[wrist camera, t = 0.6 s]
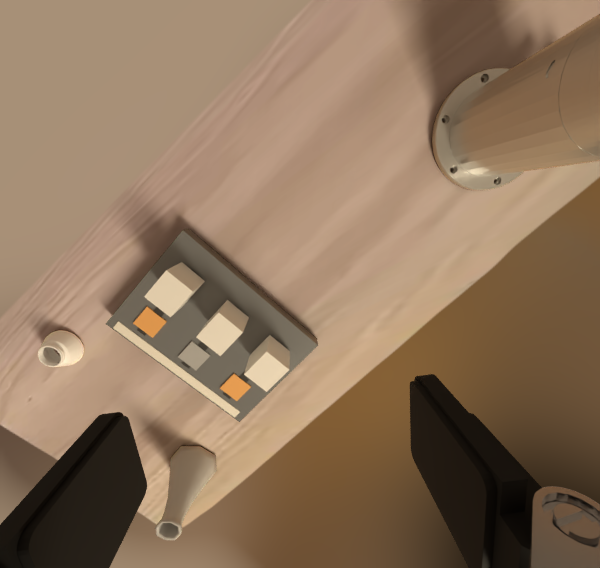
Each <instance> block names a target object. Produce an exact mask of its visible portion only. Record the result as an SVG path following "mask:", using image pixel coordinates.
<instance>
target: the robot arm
mask: <svg viewBox="0 0 600 568" xmlns="http://www.w3.org/2000/svg"><path fill="white" fill-rule="evenodd" d="M481 81H482V82H481ZM442 119H443V120H444V123H443V122H442ZM432 145H433V153H434V156H435V160H436V162H437V164H438V166H439V168H440V170H441V171H442V173H443V174H444V175H445V176H446V178H448V179H449V180H450V181H451V182H452V183H454V184H456V185H458V186H460V187H462V188H465V189H469V190H491V189H495V188H499V187H502V186H504V185H506V184H508V183H510V182H512V181H513V180H515V179H516V178H518V177H519V176H520V175H521V174H522V173H523V172H524V171H530V170H537V169H545V168H552V167H559V166H566V165H574V164H581V163H588V162H596V161H600V14H599V15H597V16H596V17H594V18H592V19H591V20H589V21H587V22H586V23H584V24H583V25H581V26H579V27H578V28H576V29H575V30H573V31H571V32H570V33H568V34H566V35H565V36H563V37H562V38H560V39H558V40H557V41H555V42H554V43H552V44H550V45H549V46H547V47H545V48H544V49H542V50H541V51H539V52H537V53H536V54H534V55H532V56H531V57H529V58H528V59H526V60H524V61H523V62H521V63H520V64H518V65H516V66H515V67H513V68H511V69H509V68H493V69H487V70H484V71H481V72H479V73H476V74H474V75H472V76H471V77H469V78H468V79H466V80H465V81H463V82H462V83H461V84H459V85H458V86H457V87H456V88H455V89H454V90H453V91H452V92H451V93H450V94H449V95H448V96H447V98H446V99H445V101H444V102H443V104H442V105H441V107H440V110H439V112H438V114H437V116H436V120H435V123H434V127H433V135H432ZM450 168H451V169H452V171H451V172H450ZM410 417H411V418H410V420H411V421H410V423H411V451H412V456H413V459H414V461H415V463H416V465H417V467H418V469H419V471H420V473H421V475H422V477H423V479H424V481H425V483H426V485H427V487H428V489H429V491H430V493H431V495H432V497H433V499H434V501H435V502H436V504H437V506H438V508H439V510H440V512H441V514H442V516H443V518H444V520H445V522H446V524H447V526H448V528H449V530H450V532H451V534H452V536H453V538H454V540H455V541H456V544H457V546H458V548H459V550H460V551H461V553H462V555H463V557H464V559H465V561H466V563H467V565H468V567H469V568H600V505H599V504H598V503H596V502H595V501H593V500H592V499H590V498H588V497H586V496H584V495H582V494H580V493H578V492H575V491H573V490H569V489H565V488H561V487H545V488H542V487H541V486H540V485H539V484H538V483H537V482H536V481H535V480H534V479H533V478H532V477H531V476H530V474H529V473H528V472H527V471H526V470H525V469H524V468H523V467H522V466H521V465H520V464H519V462H518V461H517V460H516V459H515V458H514V457H513V456H512V455H511V454H510V453H509V452H508V451H507V449H505V447H504V446H503V445H502V444H501V443H500V442H499V441H498V440H497V439H496V437H495V436H494V435H493V434H492V433H491V432H490V431H489V430H488V429H487V428H486V427H485V425H484V424H483V423H482V422H481V421H480V420H479V419H478V418H477V417H476V416H475V415H474V414H471V413H468V411H467V410H466V409H465V408H464V407H463V406H462V405H461V404H460V403H459V401H458V400H457V399H456V398H455V397H454V396H453V395H452V394H451V393H450V391H449V390H448V389H447V388H446V387H445V386H444V385H443V384H442V383H441V381H439V379H438V378H437V377H436V376H435V375H433V374H431V375H423V376H416V377H415V381H412V382H410ZM146 489H147V481H146V478H145V474H144V471H143V467H142V464H141V460H140V457H139V453H138V450H137V446H136V443H135V439H134V436H133V432H132V429H131V426H130V422H129V419H128V417H126V416H123V414H122V413H120V412H117V413H109V414H102V415H99V416H98V417H97V418H96V419H95V420H94V422H93V423H92V424H91V425H90V426H89V427H88V428H87V429H86V430H85V431H84V433H83V434H82V435H81V436H80V437H79V438H78V439H77V440H76V441H75V443H74V444H73V445H72V446H71V447H70V448H69V449H68V450H67V451H66V453H65V454H64V455H63V456H62V457H61V458H60V459H59V460H58V461H57V463H56V464H55V465H54V466H53V467H52V468H51V469H50V470H49V471H48V473H47V474H46V475H45V476H44V477H43V478H42V479H41V480H40V481H39V482H38V484H37V485H36V486H35V487H34V488H33V489H32V490H31V491H30V492H29V494H28V495H27V496H26V497H25V498H24V499H23V500H22V501H21V502H20V504H19V505H18V506H17V507H16V508H15V509H14V510H13V511H12V513H11V514H10V515H9V516H8V517H7V518H6V519H5V520H4V521H3V522H2V523H1V525H0V568H109V567H110V565H111V563H112V561H113V559H114V557H115V555H116V553H117V551H118V548H119V546H120V545H121V543H122V541H123V539H124V536H125V534H126V532H127V530H128V528H129V526H130V524H131V522H132V520H133V518H134V516H135V514H136V512H137V510H138V508H139V506H140V504H141V502H142V500H143V498H144V496H145V493H146Z"/></svg>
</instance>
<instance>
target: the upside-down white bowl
mask: <svg viewBox="0 0 600 568" xmlns="http://www.w3.org/2000/svg"><path fill="white" fill-rule="evenodd" d="M53 348H54V349H55V350H57V351H58V352H59V354H60V356H59V355H58V354H57V353H56V352H55V351H54V349H53ZM83 353H84V348H83V344H82V342H81V340H80V339H79V338H78V337H77V336H76V335H75V334H73V333H70V332H68V331H63V330H58V331H54V332H52V333H50V334H49V335H48V336H46V337H45V339H44V341H43V343H42V345H41V348H40V349H39V351H38V358H39V360H40V361H41V362H42V363H43V364H44V365H46V366H48V367H57V366H58V367H60V366H68V365H72V364H75V363H76V362H78V361H79V360H80V359H81V358H82V356H83Z"/></svg>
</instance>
